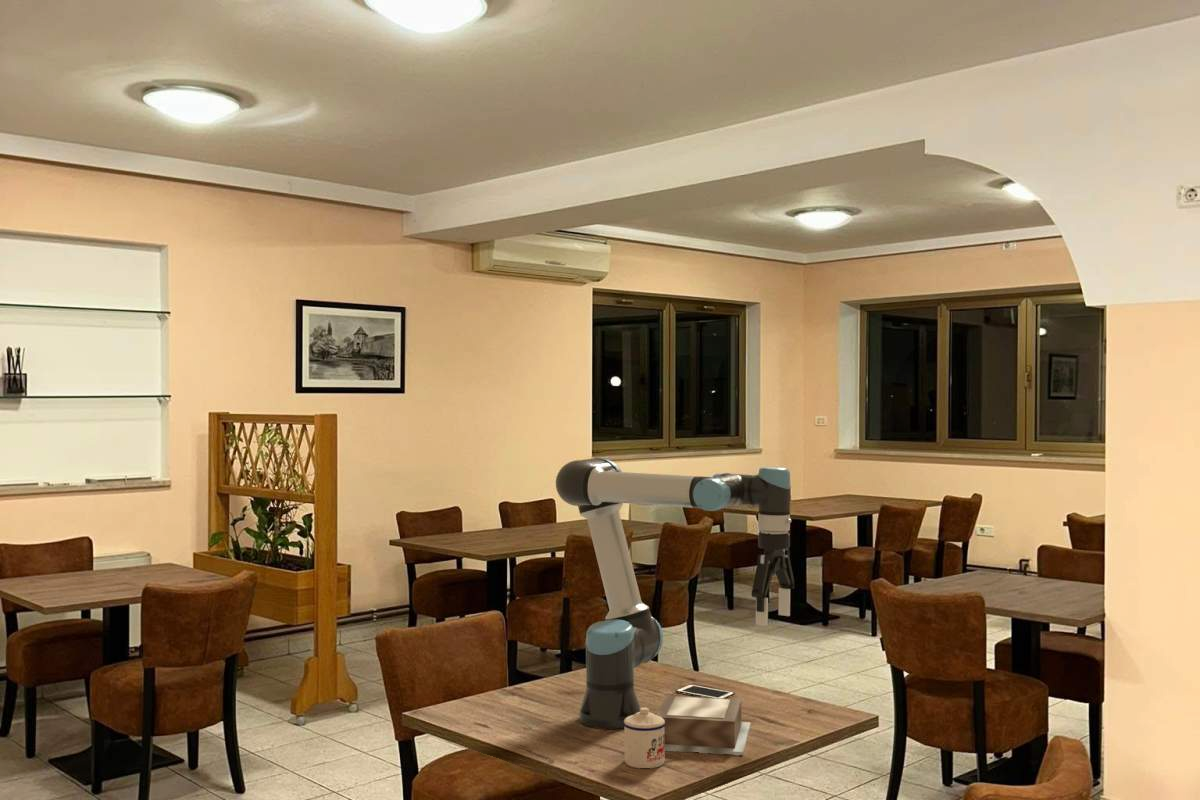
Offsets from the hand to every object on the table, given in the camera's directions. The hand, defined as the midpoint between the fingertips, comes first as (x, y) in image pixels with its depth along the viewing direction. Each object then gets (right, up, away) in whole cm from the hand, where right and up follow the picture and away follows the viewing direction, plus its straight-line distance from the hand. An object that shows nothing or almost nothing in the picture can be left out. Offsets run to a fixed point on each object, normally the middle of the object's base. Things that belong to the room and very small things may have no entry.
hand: (773, 620), depth 252 cm
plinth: (-19, -25, -8) cm, 32 cm away
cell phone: (-13, -26, +28) cm, 41 cm away
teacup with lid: (-31, -26, -24) cm, 47 cm away
